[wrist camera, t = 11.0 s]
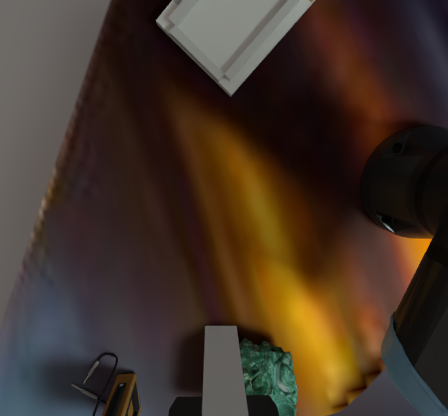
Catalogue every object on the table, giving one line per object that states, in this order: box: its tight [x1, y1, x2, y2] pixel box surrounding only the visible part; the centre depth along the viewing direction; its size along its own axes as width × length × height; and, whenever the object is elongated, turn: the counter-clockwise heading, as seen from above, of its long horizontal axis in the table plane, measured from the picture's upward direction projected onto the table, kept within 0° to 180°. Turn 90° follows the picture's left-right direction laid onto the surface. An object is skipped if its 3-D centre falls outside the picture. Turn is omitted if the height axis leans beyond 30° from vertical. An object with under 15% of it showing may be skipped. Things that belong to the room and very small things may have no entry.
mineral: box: [239, 338, 298, 416], centre depth 43 cm, size 18×16×10 cm
